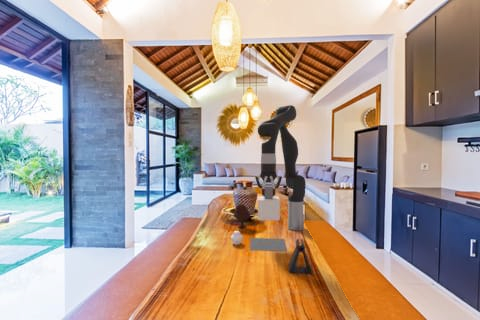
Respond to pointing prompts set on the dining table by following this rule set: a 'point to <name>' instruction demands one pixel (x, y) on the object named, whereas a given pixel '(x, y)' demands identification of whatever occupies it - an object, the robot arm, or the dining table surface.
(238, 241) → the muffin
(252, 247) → the mat
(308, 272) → the phone stand
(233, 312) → the dining table surface
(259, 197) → the cover
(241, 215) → the ice cream bowl
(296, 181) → the robot arm
